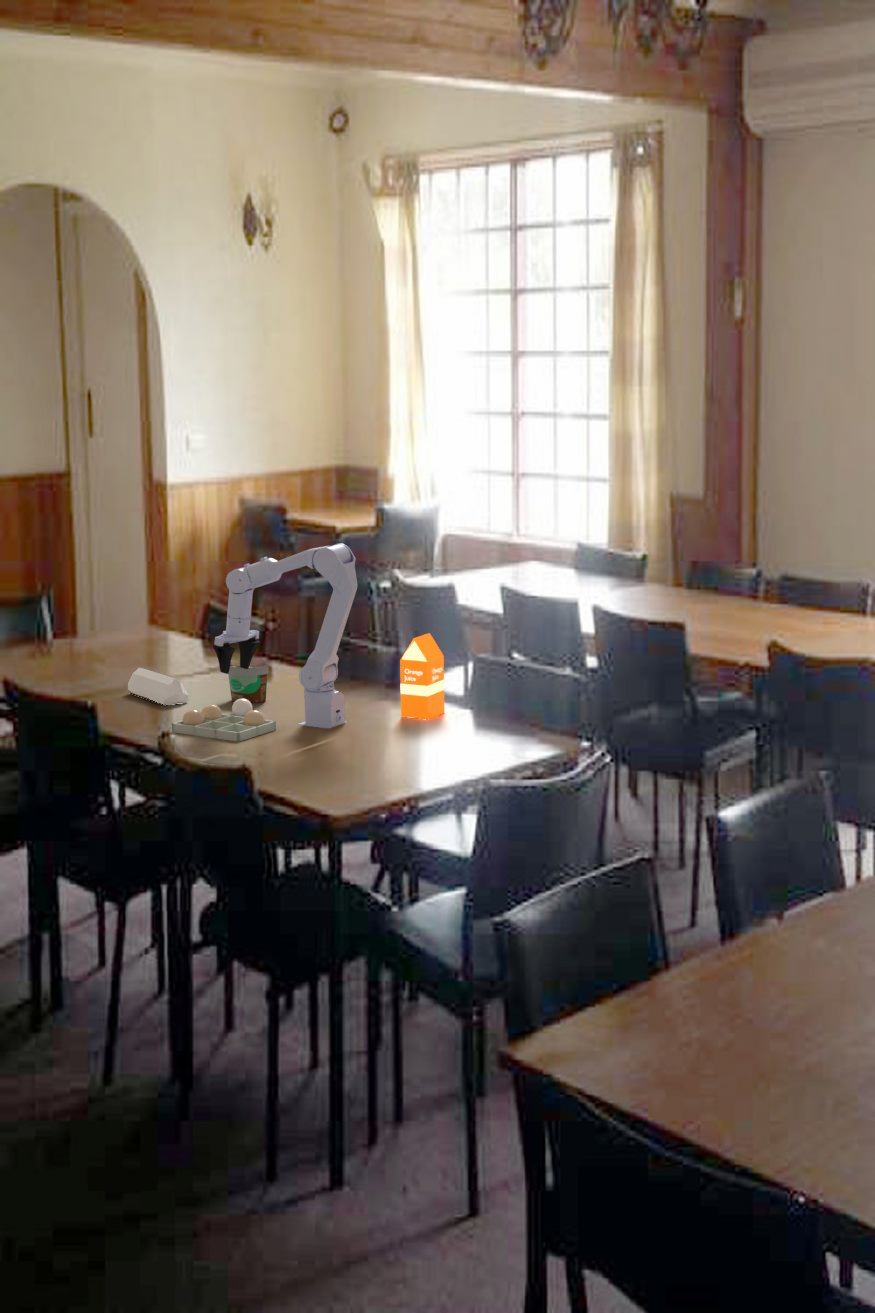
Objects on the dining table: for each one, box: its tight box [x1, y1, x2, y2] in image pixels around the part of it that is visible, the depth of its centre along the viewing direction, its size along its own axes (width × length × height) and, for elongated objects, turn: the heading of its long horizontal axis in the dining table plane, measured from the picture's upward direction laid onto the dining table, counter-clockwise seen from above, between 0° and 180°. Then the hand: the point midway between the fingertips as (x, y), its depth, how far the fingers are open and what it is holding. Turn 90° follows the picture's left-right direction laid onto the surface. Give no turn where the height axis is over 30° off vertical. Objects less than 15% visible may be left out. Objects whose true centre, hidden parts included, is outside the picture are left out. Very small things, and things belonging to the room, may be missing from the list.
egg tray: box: [171, 713, 277, 743], centre depth 391 cm, size 20×14×3 cm
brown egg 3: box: [244, 709, 266, 727], centre depth 390 cm, size 5×5×5 cm
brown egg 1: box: [182, 709, 204, 726], centre depth 391 cm, size 5×5×5 cm
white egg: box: [231, 698, 254, 717], centre depth 404 cm, size 5×5×5 cm
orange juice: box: [399, 632, 445, 721], centre depth 405 cm, size 8×9×20 cm
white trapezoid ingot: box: [127, 667, 190, 706], centre depth 431 cm, size 7×7×24 cm
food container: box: [227, 662, 270, 705], centre depth 422 cm, size 12×6×10 cm, turn 62°
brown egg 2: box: [201, 703, 223, 720], centre depth 397 cm, size 5×5×5 cm
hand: (234, 670), depth 404 cm, fingers open, 7 cm apart
